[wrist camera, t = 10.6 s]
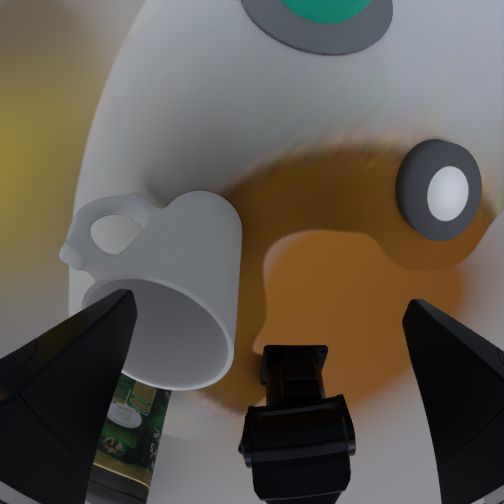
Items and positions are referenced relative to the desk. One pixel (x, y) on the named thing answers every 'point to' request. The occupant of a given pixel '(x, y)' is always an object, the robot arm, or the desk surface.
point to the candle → (326, 9)
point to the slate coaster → (321, 27)
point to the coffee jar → (128, 444)
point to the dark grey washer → (439, 189)
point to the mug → (169, 283)
